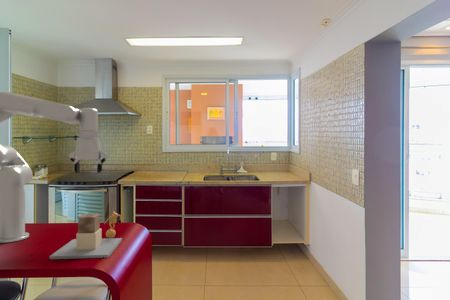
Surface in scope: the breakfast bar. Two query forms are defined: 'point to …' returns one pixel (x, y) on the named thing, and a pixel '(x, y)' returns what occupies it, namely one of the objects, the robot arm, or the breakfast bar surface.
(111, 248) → the base plate
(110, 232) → the figurine
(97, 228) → the walnut cube
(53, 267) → the breakfast bar surface
